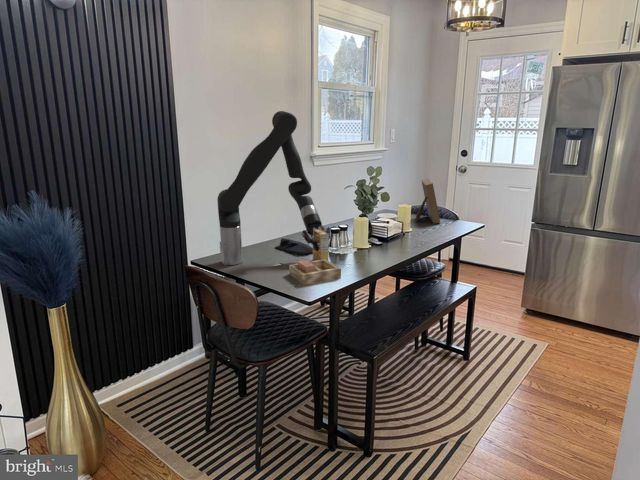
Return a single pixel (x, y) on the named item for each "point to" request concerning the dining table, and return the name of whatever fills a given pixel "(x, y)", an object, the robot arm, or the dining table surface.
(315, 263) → the wooden compartment tray
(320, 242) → the candy box
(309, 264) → the reddish brown block
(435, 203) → the photo frame
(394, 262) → the dining table surface
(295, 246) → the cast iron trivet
